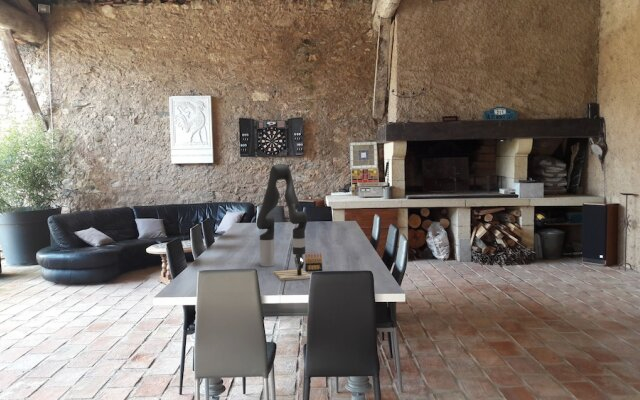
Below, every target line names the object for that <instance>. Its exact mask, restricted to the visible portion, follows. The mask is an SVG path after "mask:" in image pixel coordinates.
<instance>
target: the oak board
mask: <svg viewBox="0 0 640 400" xmlns="http://www.w3.org/2000/svg"><path fill="white" fill-rule="evenodd" d="M301 272H302V273H304V272H306V271H305V269H303V268H302V269H301ZM293 273H297V269H288V270H279V271H278V270H276V271H273V275H274V276H275V277H276V278H278V276H277V275H282V274H293Z"/></svg>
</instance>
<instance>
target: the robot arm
mask: <svg viewBox="0 0 640 400" xmlns="http://www.w3.org/2000/svg"><path fill="white" fill-rule="evenodd" d="M280 180H281V181H282V180H283V181H285V182H286V186H285V187H286V188H285V192H284V200H285V203H286V205H287V209H288V220H289V222H290V223H291V224H293V225H297V226H296V227H295V228H292V254H293V255H295V256H294V258H293V259H294V264H295V268H296V270H297V275H298V276H299V275H302V272H301V269H303V268H304V266H305V265H304V264H305V260H304V257H303V255H306V252H307V251H306V232H305V231H306V227H307V223H308V214H307V213H306V212H305V211H303V210H302V211H296V210H298V209H299V208H300V206H301V205H300V202H299V199H298V197H297V194H296V190H295V186H294V180H293V177H292V172H291V169H290V166H289V165H288V164H287V163H280V164H274V165H272V166H271V168H270V171H269V177H268V182H267V187H266V190H265V194H264V197H263V201H262V205H261V208H260V211H259V213H258V215H257V218H256V226H257V229H259V230H266V231H265V232H264V233H262V234H260V235H259V258H260V260H259V261H260V267H273V266H275V217H274V215H273V214H270V213H271V211H273V210H274V209H275V208H276V207H277V205H278V203H279V201H280V198H281V194H280V191H279V189H278V187H277V182H278V181H280Z"/></svg>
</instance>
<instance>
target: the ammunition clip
mask: <svg viewBox="0 0 640 400" xmlns="http://www.w3.org/2000/svg"><path fill="white" fill-rule="evenodd" d="M305 252H306V253H305V254H304V255H305V258H304V259H305V260H304V264H305V265H304V271H306V272H307V273H308V271H309V272H323V257H322V256H323V255H322V252H321V251H320V252H318V251H317V252H316V251H314V253H313V252H311V253H310V252H308V253H307V251H305Z"/></svg>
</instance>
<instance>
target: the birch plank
mask: <svg viewBox="0 0 640 400" xmlns="http://www.w3.org/2000/svg"><path fill="white" fill-rule="evenodd" d="M310 275H311V274H310V273H308V272H304V273H302V275H299V276H298V275H297V273H293V274H282V275H277V276H278V277H277V276H276V277H277V278H278V279H279V280H280V281H282V282H284V281H294V280H295V281H296V280H304V279H305V280H306V279H311V278H310Z"/></svg>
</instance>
